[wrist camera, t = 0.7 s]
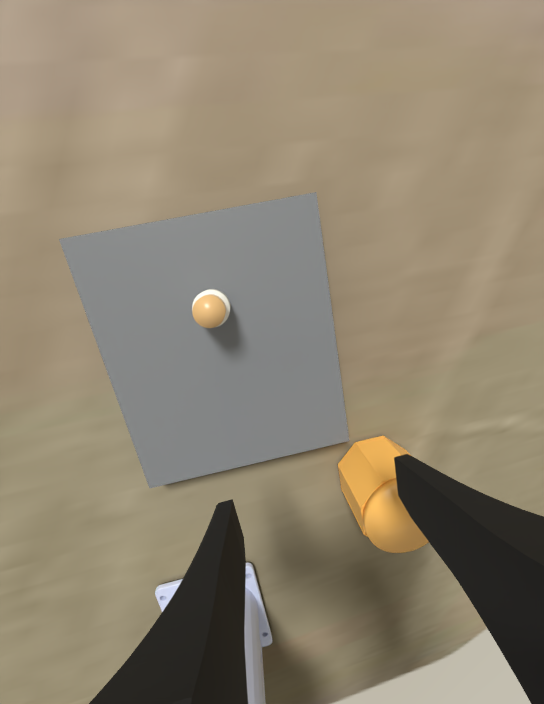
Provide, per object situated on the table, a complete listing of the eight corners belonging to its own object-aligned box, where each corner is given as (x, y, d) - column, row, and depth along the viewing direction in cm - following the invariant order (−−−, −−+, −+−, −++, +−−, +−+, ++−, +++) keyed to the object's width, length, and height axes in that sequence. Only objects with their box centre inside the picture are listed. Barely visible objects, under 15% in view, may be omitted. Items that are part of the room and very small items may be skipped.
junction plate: (341, 430, 22) (366, 465, 18) (155, 473, 21) (135, 521, 17) (309, 198, 18) (331, 176, 14) (74, 242, 17) (21, 231, 13)
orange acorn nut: (407, 488, 24) (448, 541, 20) (343, 504, 24) (370, 562, 19) (402, 430, 23) (447, 472, 18) (334, 446, 22) (361, 493, 18)
